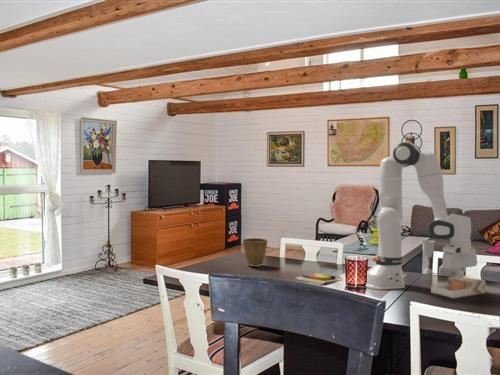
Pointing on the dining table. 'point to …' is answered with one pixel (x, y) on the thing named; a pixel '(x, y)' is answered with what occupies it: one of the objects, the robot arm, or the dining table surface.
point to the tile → (457, 285)
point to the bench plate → (470, 284)
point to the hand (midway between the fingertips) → (460, 277)
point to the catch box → (449, 291)
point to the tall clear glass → (428, 253)
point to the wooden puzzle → (319, 278)
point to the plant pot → (255, 250)
